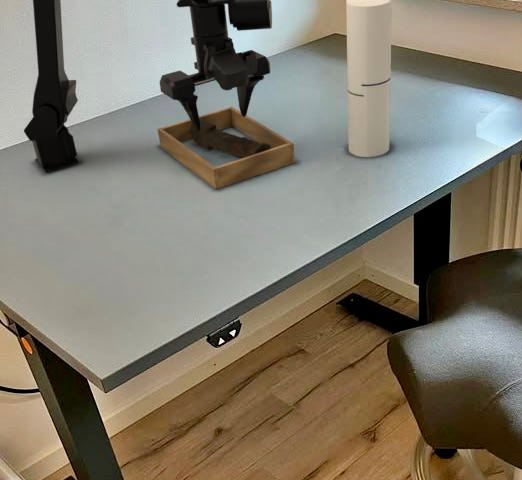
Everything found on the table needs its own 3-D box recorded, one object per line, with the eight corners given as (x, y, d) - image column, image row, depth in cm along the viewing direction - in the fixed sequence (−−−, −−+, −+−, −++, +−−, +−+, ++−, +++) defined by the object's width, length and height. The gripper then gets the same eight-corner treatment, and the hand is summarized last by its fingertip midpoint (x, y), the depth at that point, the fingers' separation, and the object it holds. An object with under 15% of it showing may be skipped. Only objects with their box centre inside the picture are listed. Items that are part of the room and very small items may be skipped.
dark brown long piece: (273, 162, 140) (271, 137, 137) (256, 170, 138) (254, 145, 135) (203, 136, 151) (200, 113, 148) (187, 144, 149) (184, 120, 146)
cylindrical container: (387, 157, 137) (390, 5, 122) (346, 156, 139) (343, 7, 124) (390, 140, 143) (393, -8, 127) (351, 139, 144) (348, -6, 129)
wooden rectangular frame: (215, 189, 133) (213, 169, 131) (160, 147, 149) (157, 128, 147) (295, 162, 139) (294, 143, 137) (233, 124, 155) (231, 106, 152)
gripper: (181, 57, 122) (194, 152, 131) (284, 29, 128) (290, 122, 138) (151, 41, 130) (166, 131, 139) (250, 15, 136) (257, 104, 146)
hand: (221, 122), depth 140 cm, fingers open, 9 cm apart
